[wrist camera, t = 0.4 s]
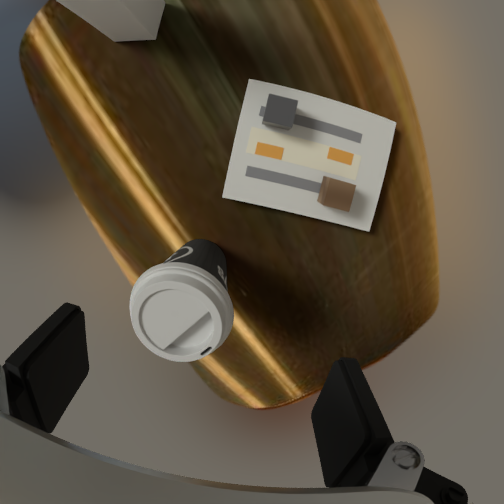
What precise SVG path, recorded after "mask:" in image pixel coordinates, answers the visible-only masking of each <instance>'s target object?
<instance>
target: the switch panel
mask: <svg viewBox="0 0 504 504" xmlns="http://www.w3.org/2000/svg"><path fill="white" fill-rule="evenodd" d="M269 94H274V95H278V96H282V97H286V98H290V99H294V100H298V104H297V109H296V113H295V117H294V122H293V126H292V128H291V129H290V130H285V129H281V128H277V127H273V126H268V125H264V124H262V120H263V116H264V112H265V108H266V103H267V99H268V96H269ZM395 126H396V122H394V121H391V120H389V119H386V118H384V117H381V116H378V115H376V114H373V113H370V112H367V111H365V110H362V109H359V108H356V107H353V106H350V105H347V104H344V103H341V102H338V101H335V100H332V99H328V98H325V97H322V96H318V95H315V94H311V93H307V92H304V91H300V90H296V89H292V88H288V87H284V86H280V85H276V84H271V83H267V82H262V81H258V80H253V79H249V81H248V86H247V90H246V94H245V98H244V102H243V106H242V110H241V115H240V119H239V123H238V127H237V132H236V136H235V141H234V145H233V150H232V154H231V159H230V163H229V168H228V172H227V177H226V182H225V186H224V191H223V196H222V197H223V198H228V199H233V200H237V201H242V202H247V203H251V204H256V205H261V206H265V207H270V208H274V209H278V210H283V211H287V212H292V213H296V214H300V215H304V216H308V217H313V218H317V219H321V220H325V221H329V222H333V223H337V224H341V225H345V226H349V227H353V228H357V229H361V230H364V231H368V232H369V231H370V227H371V224H372V220H373V217H374V213H375V210H376V206H377V203H378V199H379V195H380V191H381V187H382V184H383V180H384V176H385V171H386V167H387V163H388V159H389V154H390V150H391V145H392V141H393V136H394V131H395ZM323 176H326V177H330V178H333V179H337V180H340V181H344V182H347V183H351V184H354V185H356V188H355V192H354V196H353V200H352V203H351V207H350V211H349V212H346V211H343V210H339V209H335V208H331V207H327V206H323V205H322V204H320V203H319V202H317V199H318V196H319V192H320V188H321V184H322V180H323Z"/></svg>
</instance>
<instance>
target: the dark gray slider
mask: <svg viewBox="0 0 504 504" xmlns="http://www.w3.org/2000/svg"><path fill="white" fill-rule="evenodd" d="M297 104H298V100H294V99H290V98H286V97H282V96H278V95H274V94H269V96H268V99H267V103H266V108H265V112H264V116H263V120H262V124H264V125H268V126H273V127H277V128H281V129H285V130H290V129H291V128H292V126H293V122H294V117H295V113H296V109H297Z"/></svg>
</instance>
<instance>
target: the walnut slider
mask: <svg viewBox="0 0 504 504" xmlns="http://www.w3.org/2000/svg"><path fill="white" fill-rule="evenodd" d="M355 188H356V185H354V184H351V183H347V182H344V181H340V180H337V179H333V178H330V177H326V176H323V180H322V184H321V188H320V192H319V196H318V199H317V202H319V203H320V204H322V205H323V206H327V207H331V208H335V209H339V210H343V211H346V212H349V211H350V207H351V203H352V200H353V196H354V192H355Z"/></svg>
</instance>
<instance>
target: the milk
mask: <svg viewBox="0 0 504 504" xmlns="http://www.w3.org/2000/svg"><path fill="white" fill-rule="evenodd" d="M56 1H58V2H59V3H61V4H62V5H64V6H65V7H67V8H68V9H70V10H71V11H73V12H74V13H75V14H77V15H78V16H80V17H81V18H83V19H84V20H85V21H87V22H88V23H90V24H91V25H92V26H94V27H95V28H97V29H98V30H99V31H101V32H102V33H103V34H105V35H106V36H107V37H109V38H110V39H111V40H113V41H114V42H120V41H137V40H156V37H157V33H158V29H159V25H160V21H161V18H162V14H163V10H164V7H165V1H164V0H56Z"/></svg>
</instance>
